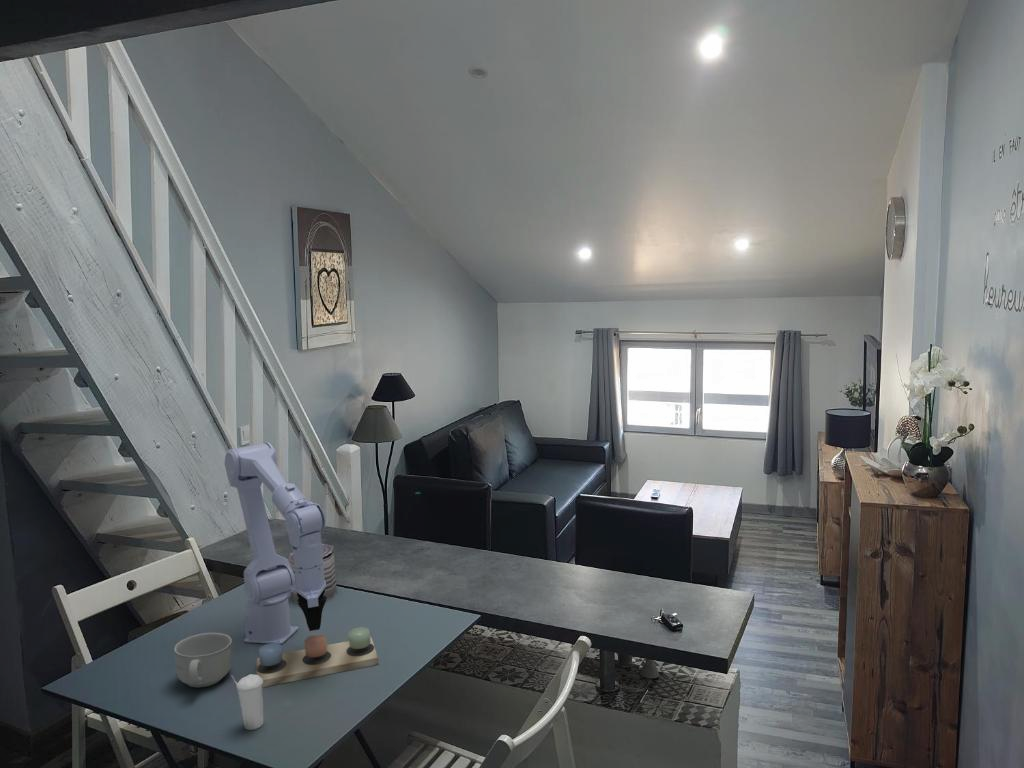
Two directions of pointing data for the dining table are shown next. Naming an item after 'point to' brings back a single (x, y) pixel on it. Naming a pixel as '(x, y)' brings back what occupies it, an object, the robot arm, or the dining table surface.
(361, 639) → the sage button
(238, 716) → the dining table surface
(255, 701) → the milkshake
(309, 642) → the terracotta button
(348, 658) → the button panel
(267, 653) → the slate button
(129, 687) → the dining table surface
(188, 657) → the teacup
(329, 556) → the can
